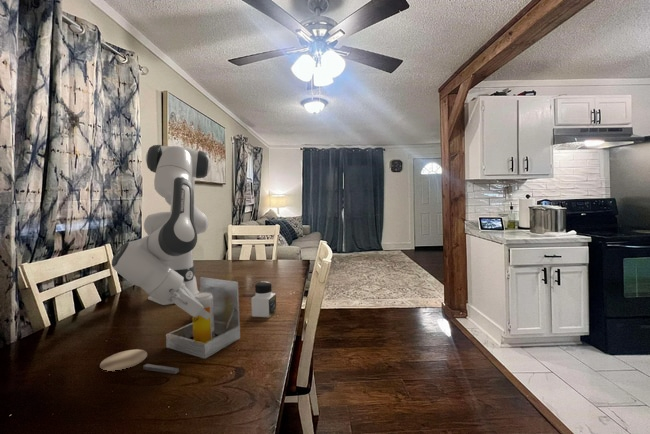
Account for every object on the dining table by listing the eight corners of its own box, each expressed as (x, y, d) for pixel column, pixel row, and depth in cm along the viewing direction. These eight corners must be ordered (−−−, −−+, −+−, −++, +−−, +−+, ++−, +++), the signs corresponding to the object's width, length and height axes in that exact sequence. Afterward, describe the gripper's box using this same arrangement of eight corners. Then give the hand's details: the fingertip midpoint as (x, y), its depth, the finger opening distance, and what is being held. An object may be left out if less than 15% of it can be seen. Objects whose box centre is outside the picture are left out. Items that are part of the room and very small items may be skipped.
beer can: (197, 338, 99) (195, 292, 98) (217, 337, 99) (215, 291, 98) (190, 347, 93) (188, 298, 92) (211, 346, 93) (209, 297, 92)
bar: (143, 370, 82) (143, 366, 82) (147, 368, 83) (146, 363, 83) (175, 375, 79) (175, 370, 79) (179, 372, 80) (178, 368, 80)
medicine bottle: (269, 317, 115) (268, 285, 114) (251, 316, 116) (250, 285, 116) (276, 310, 122) (275, 280, 121) (259, 310, 123) (258, 280, 123)
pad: (90, 365, 84) (90, 364, 84) (131, 347, 94) (131, 346, 94) (115, 375, 79) (115, 373, 79) (155, 355, 89) (155, 354, 89)
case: (166, 347, 93) (163, 288, 92) (203, 329, 106) (201, 277, 105) (205, 358, 86) (202, 294, 85) (240, 338, 99) (238, 281, 98)
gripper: (182, 285, 82) (221, 313, 88) (170, 271, 99) (204, 295, 105) (164, 305, 80) (206, 332, 86) (155, 287, 97) (190, 311, 103)
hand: (204, 312), depth 96 cm, fingers open, 8 cm apart
